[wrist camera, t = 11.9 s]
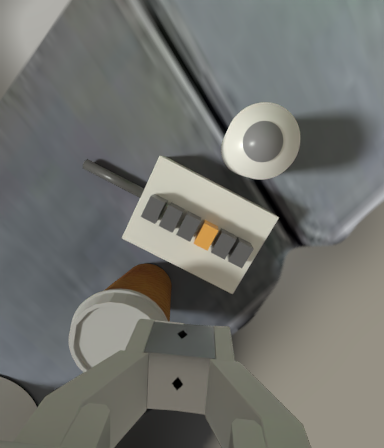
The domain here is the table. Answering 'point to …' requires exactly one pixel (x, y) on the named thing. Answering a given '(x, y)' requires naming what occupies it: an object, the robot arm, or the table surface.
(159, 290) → the disposable coffee cup
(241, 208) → the power strip
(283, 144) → the white hollow cylinder
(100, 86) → the table surface
